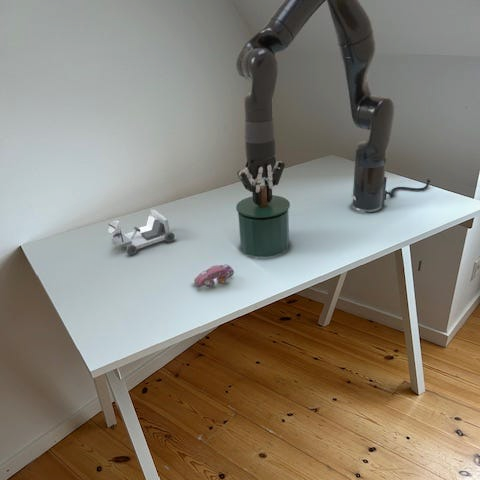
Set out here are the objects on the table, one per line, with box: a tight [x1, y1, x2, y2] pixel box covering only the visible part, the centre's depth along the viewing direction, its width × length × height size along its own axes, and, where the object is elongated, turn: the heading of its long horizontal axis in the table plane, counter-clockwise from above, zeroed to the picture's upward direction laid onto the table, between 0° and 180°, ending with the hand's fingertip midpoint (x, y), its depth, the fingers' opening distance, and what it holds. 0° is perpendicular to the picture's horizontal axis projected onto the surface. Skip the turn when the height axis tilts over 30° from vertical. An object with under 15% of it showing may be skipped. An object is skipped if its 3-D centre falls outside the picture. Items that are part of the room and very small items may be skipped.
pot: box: [237, 209, 290, 258], centre depth 136 cm, size 14×14×12 cm
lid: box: [235, 185, 291, 218], centre depth 131 cm, size 15×15×6 cm
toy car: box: [108, 208, 175, 256], centre depth 145 cm, size 18×10×12 cm
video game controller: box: [193, 263, 235, 289], centre depth 123 cm, size 10×5×7 cm, turn 118°
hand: (262, 202), depth 132 cm, fingers closed on lid, 2 cm apart
